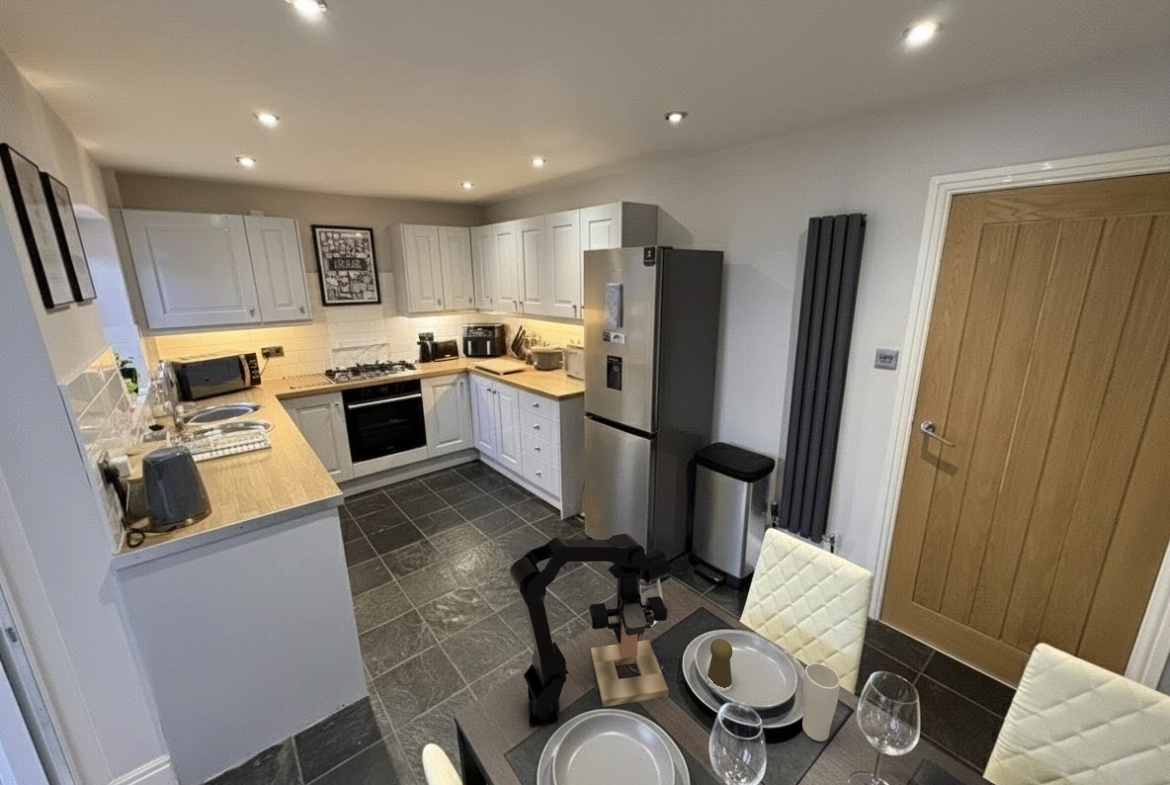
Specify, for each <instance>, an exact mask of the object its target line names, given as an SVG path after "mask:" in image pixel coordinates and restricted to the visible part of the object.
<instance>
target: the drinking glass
mask: <svg viewBox="0 0 1170 785" xmlns="http://www.w3.org/2000/svg"><path fill="white" fill-rule="evenodd" d="M840 685H841V679H840V676H839V674H838V673H837V672H836V671H835V670H834V669H833V668H831V667H830V666H828V665H825V664H824V663H818V662H813V663H809V664H808V665H806V667H805V670H804V676H803V688H802V689H803V690H802V691H803V692H802V697H803V698H802V699H803V700H802V702H803V703H802V729H803V731H804V733H805V735H807V736H808V737H809V738H810V739H812V740H814V741H816V742H824V741H827V740H828V739H829V738H830V732H831V728H832V724H833V719H834V715H835V712H836V708H837V705H838V701H839V695H840V687H841V686H840Z"/></svg>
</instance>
